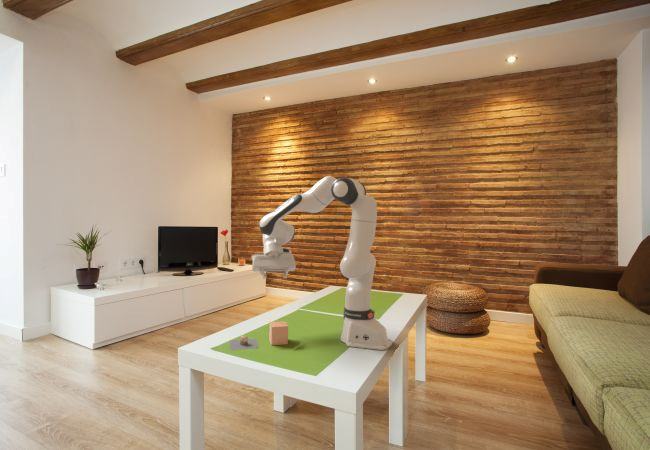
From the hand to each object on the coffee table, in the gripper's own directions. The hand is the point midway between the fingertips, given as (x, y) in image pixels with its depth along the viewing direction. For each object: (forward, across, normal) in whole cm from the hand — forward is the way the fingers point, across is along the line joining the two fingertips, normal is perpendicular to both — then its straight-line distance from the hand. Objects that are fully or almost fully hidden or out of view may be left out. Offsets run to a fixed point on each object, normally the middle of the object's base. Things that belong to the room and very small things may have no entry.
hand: (275, 277), depth 161 cm
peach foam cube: (+28, 0, +8) cm, 29 cm away
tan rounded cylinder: (+27, -14, +8) cm, 32 cm away
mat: (+28, -14, +8) cm, 32 cm away
